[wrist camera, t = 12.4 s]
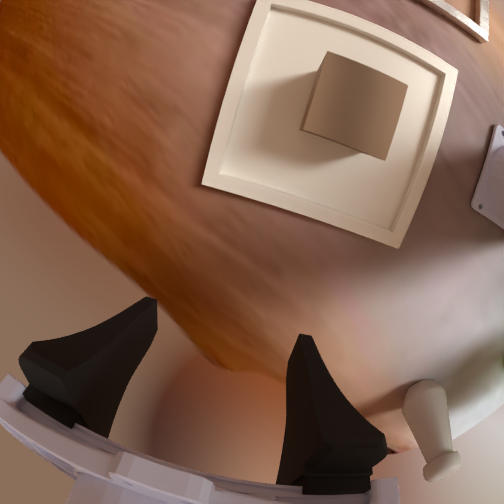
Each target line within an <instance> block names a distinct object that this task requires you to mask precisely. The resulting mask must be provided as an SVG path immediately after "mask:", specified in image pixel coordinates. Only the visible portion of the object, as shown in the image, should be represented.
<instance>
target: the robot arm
mask: <svg viewBox="0 0 504 504" xmlns="http://www.w3.org/2000/svg"><path fill="white" fill-rule="evenodd" d="M501 133H502V134H501ZM479 205H480V208H479ZM471 207H472V208H473V209H474V210H476V211H477V212H479V213H480V214H482V215H484V216H485V217H487V218H488V219H490V220H491V221H493V222H494V223H495V224H497V225H498V226H500V227H501V228H503V229H504V128H503V127H502V126H501V125H498V124H496V125H495V126H494V130H493V134H492V138H491V142H490V146H489V149H488V153H487V156H486V160H485V163H484V166H483V170H482V173H481V176H480V179H479V182H478V185H477V187H476V190H475V193H474V196H473V198H472V201H471ZM157 329H158V328H157V299H153V298H150V297H145V298H143V299H141V300H140V301H138V302H137V303H135V304H133V305H132V306H130V307H129V308H127V309H125V310H124V311H122V312H121V313H119V314H117V315H115V316H114V317H112V318H110V319H108V320H106V321H104V322H103V323H100V324H98V325H96V326H94V327H92V328H89V329H87V330H84V331H81V332H78V333H75V334H72V335H69V336H65V337H61V338H57V339H51V340H45V341H36V342H32V343H31V344H30V345H29V346H28V348H27V349H26V350H25V351H24V352H23V353H22V354H21V355H20V357H19V365H20V367H21V369H22V371H23V373H24V375H25V376H26V378H27V380H28V382H29V385H28V387H27V388H26V386H25V385H24V384H23V383H21V382H20V381H19V380H17V379H16V378H15V377H13V376H12V375H11V374H7V376H6V377H5V378H4V379H3V380H2V382H1V383H0V423H1V424H2V426H3V427H4V428H5V429H6V430H7V431H8V432H10V433H11V434H12V435H13V436H14V437H16V438H17V439H18V440H19V441H21V442H22V443H23V444H24V445H26V446H27V447H28V448H30V449H31V450H32V451H33V452H35V453H36V454H38V455H39V456H40V457H41V458H43V459H44V460H46V461H47V462H48V463H50V464H52V465H53V466H54V467H56V468H57V469H59V470H61V471H62V472H64V473H65V474H67V475H68V476H70V477H71V478H73V479H75V480H76V481H75V483H74V485H73V487H72V490H71V492H70V494H69V496H68V498H67V500H66V502H65V504H401V502H400V494H399V487H398V478H397V477H392V478H384V479H376V480H372V481H370V476H371V475H372V474H373V472H372V467H373V466H375V465H376V464H378V463H379V462H380V461H381V460H383V459H384V458H385V457H386V456H387V454H388V449H387V443H386V439H385V435H384V434H383V433H382V432H381V431H379V430H378V429H377V428H376V427H374V426H373V425H372V424H370V423H369V422H368V421H367V420H366V419H365V418H364V417H363V416H362V415H361V414H360V413H359V412H358V411H357V410H356V409H355V408H354V407H353V406H352V405H351V403H350V402H349V401H348V400H347V399H346V397H345V396H344V395H343V393H342V392H341V391H340V389H339V388H338V386H337V385H336V383H335V382H334V380H333V378H332V377H331V375H330V373H329V371H328V370H327V368H326V366H325V364H324V362H323V360H322V358H321V356H320V354H319V351H318V349H317V347H316V345H315V342H314V340H313V338H312V336H310V335H304V334H299V336H298V338H297V341H296V343H295V346H294V348H293V351H292V353H291V356H290V358H289V361H288V367H287V376H286V427H285V435H284V442H283V449H282V455H281V460H280V466H279V471H278V476H277V481H276V484H267V483H259V482H251V481H245V480H239V479H234V478H228V477H223V476H218V475H213V474H209V473H205V472H201V471H197V470H193V469H189V468H186V467H182V466H179V465H176V464H172V463H169V462H166V461H163V460H160V459H157V458H154V457H151V456H148V455H146V454H143V453H140V452H138V451H135V450H132V449H130V448H127V447H125V446H122V445H120V444H118V443H116V442H114V441H111V440H109V439H108V437H109V433H110V430H111V427H112V424H113V420H114V418H115V415H116V412H117V409H118V406H119V404H120V401H121V399H122V396H123V394H124V392H125V389H126V387H127V385H128V383H129V381H130V379H131V377H132V375H133V374H134V372H135V370H136V369H137V367H138V365H139V364H140V362H141V360H142V359H143V357H144V355H145V354H146V352H147V350H148V349H149V347H150V345H151V343H152V341H153V339H154V337H155V334H156V332H157Z"/></svg>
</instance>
